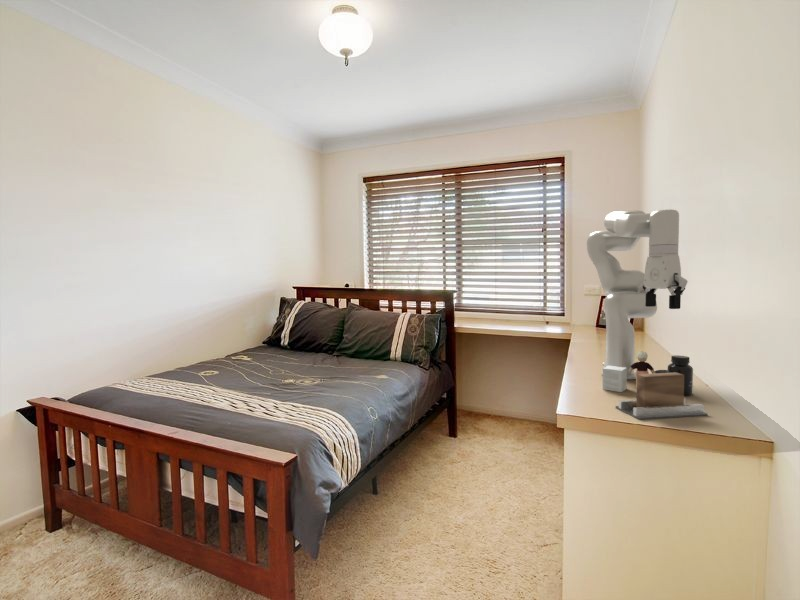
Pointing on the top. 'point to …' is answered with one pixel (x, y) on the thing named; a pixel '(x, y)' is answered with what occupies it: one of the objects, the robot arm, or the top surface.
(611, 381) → the product box
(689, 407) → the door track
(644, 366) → the grandmother figurine
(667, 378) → the walnut door panel
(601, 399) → the top surface
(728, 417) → the top surface
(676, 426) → the top surface
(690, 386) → the supplement bottle
